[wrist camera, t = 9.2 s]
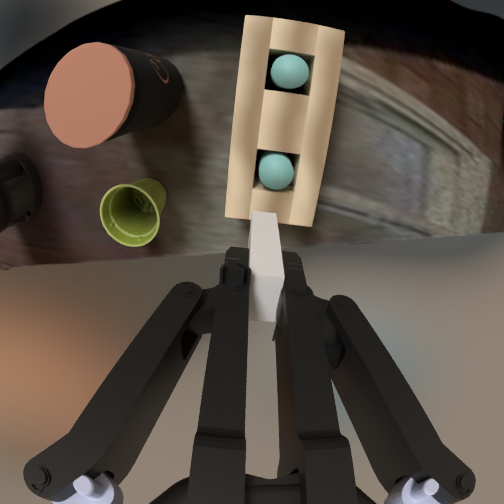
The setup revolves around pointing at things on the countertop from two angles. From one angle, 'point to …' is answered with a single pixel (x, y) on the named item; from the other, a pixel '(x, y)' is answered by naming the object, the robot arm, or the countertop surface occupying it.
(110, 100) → the coffee jar
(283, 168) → the peg
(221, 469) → the robot arm
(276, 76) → the peg
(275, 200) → the socket block
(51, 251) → the countertop surface
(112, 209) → the plant pot
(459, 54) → the countertop surface
